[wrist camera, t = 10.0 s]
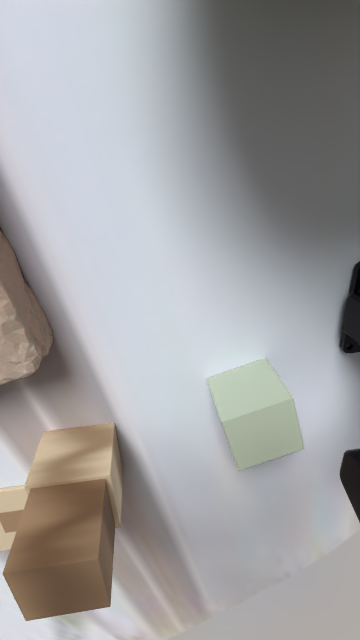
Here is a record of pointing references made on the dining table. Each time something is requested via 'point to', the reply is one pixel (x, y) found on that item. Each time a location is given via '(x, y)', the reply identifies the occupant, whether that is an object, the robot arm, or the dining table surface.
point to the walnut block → (63, 550)
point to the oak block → (80, 461)
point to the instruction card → (10, 513)
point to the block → (256, 413)
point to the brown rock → (19, 321)
